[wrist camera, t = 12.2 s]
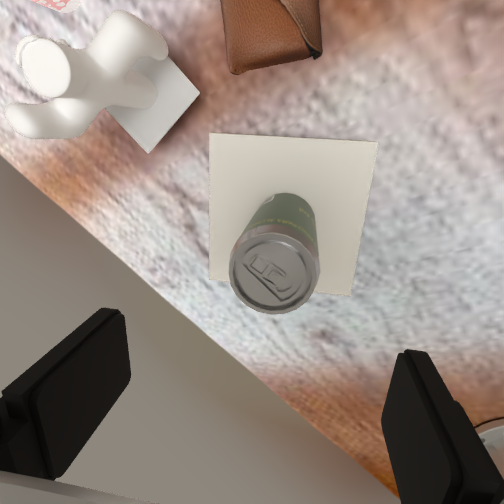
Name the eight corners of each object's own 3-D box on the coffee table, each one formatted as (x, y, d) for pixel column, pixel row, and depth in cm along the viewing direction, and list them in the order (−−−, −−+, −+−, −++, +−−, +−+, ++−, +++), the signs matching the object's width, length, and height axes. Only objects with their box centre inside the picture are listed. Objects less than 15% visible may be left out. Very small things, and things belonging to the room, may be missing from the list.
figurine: (220, 88, 29) (142, 46, 15) (158, 159, 32) (47, 178, 19) (164, 24, 28) (26, -85, 14) (106, 104, 31) (-53, 80, 17)
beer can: (244, 225, 29) (206, 280, 18) (279, 178, 27) (261, 208, 16) (290, 259, 30) (280, 334, 19) (328, 216, 28) (342, 270, 17)
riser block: (345, 278, 34) (350, 296, 30) (219, 264, 36) (209, 279, 32) (369, 141, 29) (378, 142, 25) (221, 133, 30) (209, 133, 27)
